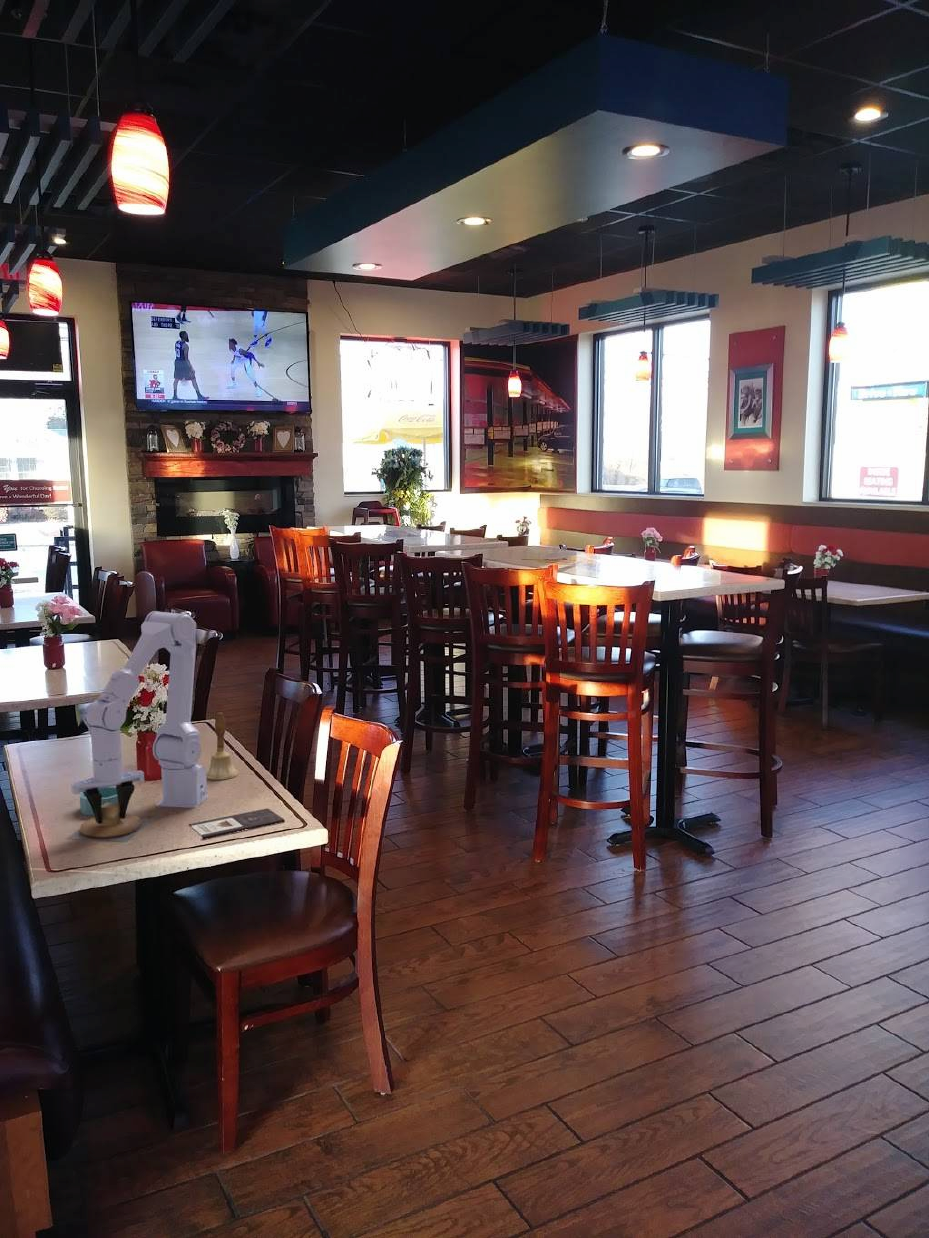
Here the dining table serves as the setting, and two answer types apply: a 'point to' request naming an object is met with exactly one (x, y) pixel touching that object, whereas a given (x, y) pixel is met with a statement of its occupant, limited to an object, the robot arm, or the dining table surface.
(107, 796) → the bowl
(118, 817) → the lid
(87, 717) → the robot arm
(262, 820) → the chocolate bar
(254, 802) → the dining table surface
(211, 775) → the hand bell
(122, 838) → the mat
